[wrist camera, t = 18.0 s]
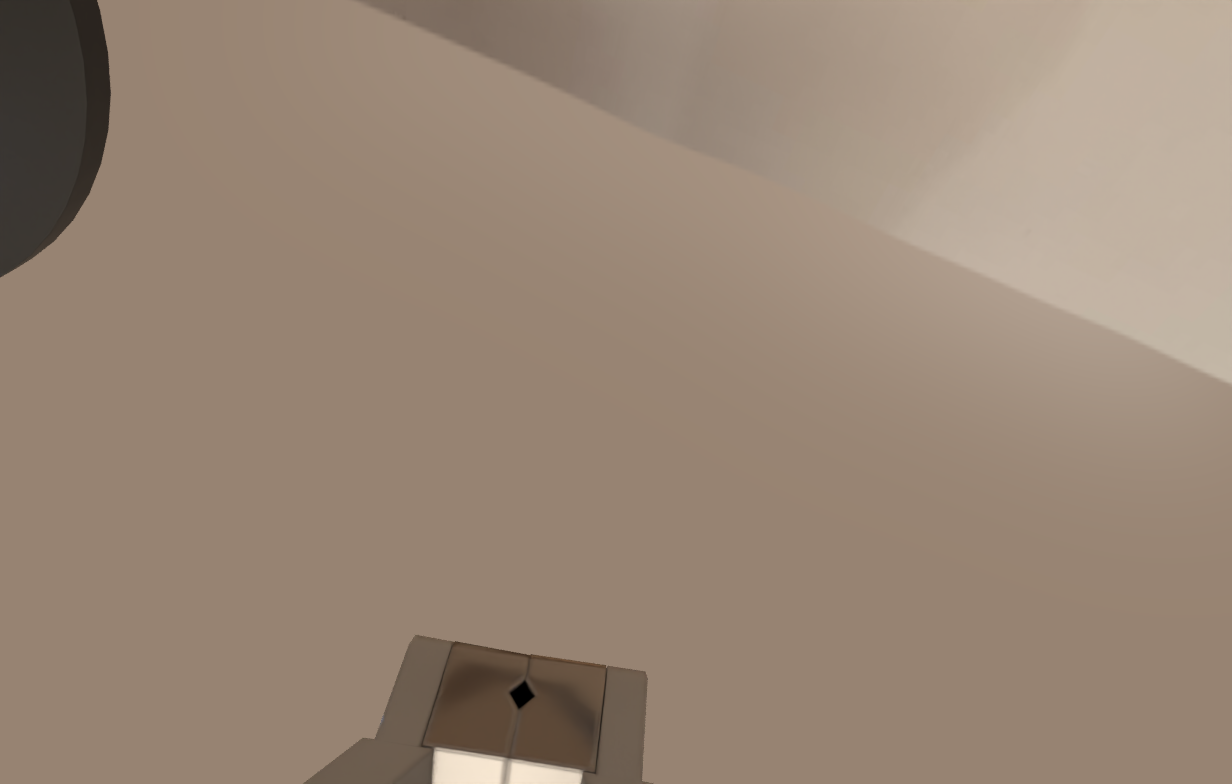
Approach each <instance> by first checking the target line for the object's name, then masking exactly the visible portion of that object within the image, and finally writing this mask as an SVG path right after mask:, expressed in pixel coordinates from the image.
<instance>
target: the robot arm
mask: <svg viewBox="0 0 1232 784" xmlns="http://www.w3.org/2000/svg"><path fill="white" fill-rule="evenodd" d="M647 680H648V679H647V675H646V672H644V671H638V670H632V669H625V668H618V667H612V666H608V667H607V668H606V665H600V664H593V663H586V662H580V661H573V660H566V659H559V658H552V657H545V656H539V655H532V654H531V655H526V654H521V653H516V652H510V651H505V650H499V649H494V648H488V647H483V646H478V645H472V644H467V643H461V642H456V641H455V642H452V641H447V640H441V639H436V638H430V637H425V636H419V635H415V637H414V638H413V639H412V641H411V642H410V644H409V646H408V649H407V651H406V654H405V657H404V660H403V662H402V665H401V668H400V671H399V674H398V676H397V679H396V682H395V685H394V687H393V691H392V693H391V696H390V699H389V702H388V704H387V707H386V710H385V712H384V715H383V718H382V720H381V723H380V726H379V729H378V732H377V734H376V737H375V739H368V738H362V739H361V740H359V741H358V742H357V743H355V744H354V745H353V746H352V747H351V748H349V749H348V750H346V751H345V752H344V753H343V754H341V755H340V756H339V757H337V758H336V759H335V760H333V761H332V762H331V763H329V764H328V765H327V766H326V767H324V768H323V769H322V770H320V771H319V772H318V773H316V774H315V775H314V776H312V777H311V778H310V779H309V780H307V781H306V782H305V783H303V784H653V783H648V782H643V781H642V769H643V751H644V734H645V715H646V697H647Z"/></svg>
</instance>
